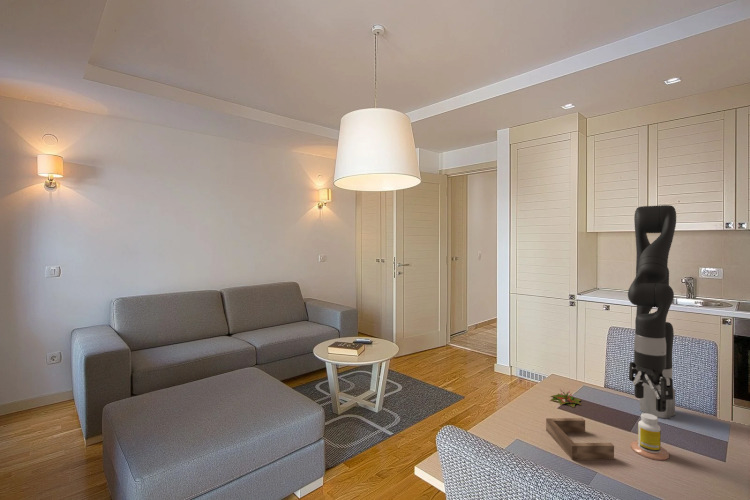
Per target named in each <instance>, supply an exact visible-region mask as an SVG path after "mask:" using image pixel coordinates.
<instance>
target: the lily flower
mask: <svg viewBox="0 0 750 500" xmlns="http://www.w3.org/2000/svg"><path fill="white" fill-rule="evenodd" d="M559 391H560V393H557V394H553V395H551V397H553V398H551V399H550V401H552V402H555V401H556V403H557V402H558V403H559V405H560V406H562V405H567V406H569V407H572V408H575V406H576V404H578V405H581V406H582V403H580V402H581V401H582V399H580V398H577V397H576V398H575V397H573V394H572V393H571V391H566V393H565V389H564V388H562V389H561V388H560V389H559ZM569 393H570V394H569ZM554 400H555V401H554ZM569 403H570V404H569Z"/></svg>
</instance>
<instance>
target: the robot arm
mask: <svg viewBox="0 0 750 500" xmlns="http://www.w3.org/2000/svg"><path fill="white" fill-rule="evenodd" d="M633 219H634V234H635V236H634V237H635V248H636V250H635V251H636V256H635V257H636V260H635V261H636V263H635V264H636V265H635V266H636V267H635V277H634V279H633V281H632V282H631V284H630V286H629V288H628V291H627V298H628V300H629V302H630V303H631V304H632V305H634V306H636V314H635V326H634V327H635V328H634V329H635V331H634V332H635V335H634V340H633V341H634V342H633V344H634V345H633V347H634V348H633V361H632V362H631V361H630V362H629V369H628V370H629V372H628V380H629V381H631V382H632V384H633V385H634V396H635V398H637V399H639V410H640V411H641V412H642V413H648V414H652V415H655V416H656V417H657V418H661V419H668V418H669V419H670V418H671V417H672V416H673V417H675V416H676V390H675V388H674V383H673V382H674V381H673V347H674V336H675V335H674V326H673V324H672V323H671V322H669V321H667V316H668V313H669V311H670V308H671V306H672V302H673V301H674V297H675V296H674V295H675V293H674V290H673V288H672V287H671V286H670V270H669V268H668V263H669V254H670V250H671V246H672V243H673V240H674V235H675V231H676V226H677V225H676V224H677V212H676V209H675V206H673V205H671V204H670V205H666V204H663V205H661V204H660V205H645V206H638V207H637V208H636V209H635V211H634V218H633ZM647 234H659V236H657V238H656V239H655V240H654V241H653V242H651V243H650V240H649V238H648V235H647ZM653 308H656V309H657V310H656V311H655V312H651V311H652V309H653ZM634 375H635V376H634Z"/></svg>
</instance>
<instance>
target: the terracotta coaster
mask: <svg viewBox="0 0 750 500" xmlns="http://www.w3.org/2000/svg"><path fill="white" fill-rule="evenodd" d="M630 448H631V450H632V451H633V452H634V453H636V454H638V455H639V456H642V457H644V458H647V459H650V460H655V461H666V460H668V459H670V454H669V451H668V450H667V449H665V448H664V447H662V446H661V449H660V452H659V453H650V452H646V451H644V450H642V449H641V448H640V447H639V446H638V440H633V441H631V442H630Z"/></svg>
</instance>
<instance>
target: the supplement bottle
mask: <svg viewBox="0 0 750 500" xmlns="http://www.w3.org/2000/svg"><path fill="white" fill-rule="evenodd" d="M658 418H659V417H656V416H655V415H652V414H648V413H644V412H642V413H641V414H640V420H639V421H638V423H637V441H638V446H639V447H640V448H641V449H642V450H644V451H646V452H650V453H659V452H660V449H661V447H662V445H661V443H662V441H661V440H662V439H661V435H662V431H661V426H660V425H659V424H658V423H659V419H658Z"/></svg>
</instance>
